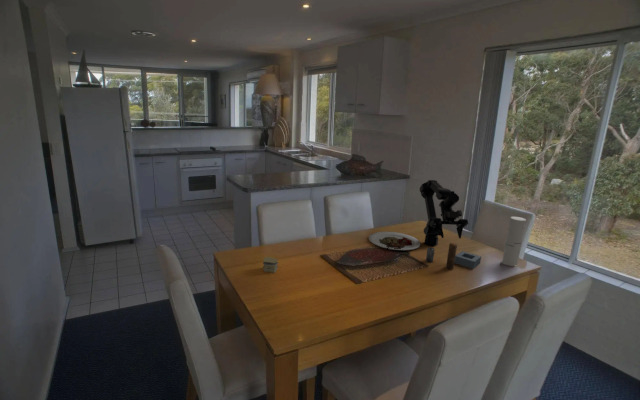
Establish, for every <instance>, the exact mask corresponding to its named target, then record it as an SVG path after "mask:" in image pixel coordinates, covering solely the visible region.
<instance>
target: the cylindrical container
mask: <svg viewBox="0 0 640 400" xmlns="http://www.w3.org/2000/svg"><path fill="white" fill-rule="evenodd" d="M526 222H527V218H524V217H521V216H520V217H519V216H510V219H509V223H508V228H507V234H506V240H505V244H504V250H503V254H502V261H501V263H502V264H504V265H506V266H509V265H510V266H511V267H516V266H515V265H517V266H518V262H519V257H520V251H521V247H522V242H523V237H524V232H525V226H526Z"/></svg>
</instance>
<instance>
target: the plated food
mask: <svg viewBox="0 0 640 400" xmlns="http://www.w3.org/2000/svg"><path fill="white" fill-rule="evenodd" d="M368 240H369V241H370V242H369V243H372V244H373V245H375V246H378V247H381V248H384V249H387V248H388V247H389V248H388V250H394V251H412V250H416V249H418V248H420V246H421V241H420V240H419V239H417V238H416V237H414V236H412V235H409V234H406V233H403V232H395V231H379V232H378V231H377V232H373V233H371V234H370V235H369V236H368ZM392 247H398V248H401V249H394V248H392Z"/></svg>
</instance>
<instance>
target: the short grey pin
mask: <svg viewBox="0 0 640 400" xmlns="http://www.w3.org/2000/svg"><path fill="white" fill-rule="evenodd" d="M426 249H427V250H426V257H425V261H426V262H427V263H433V262H434V256H435V248H433V247H432V246H430V247H429V246H428V247H427V248H426Z"/></svg>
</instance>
